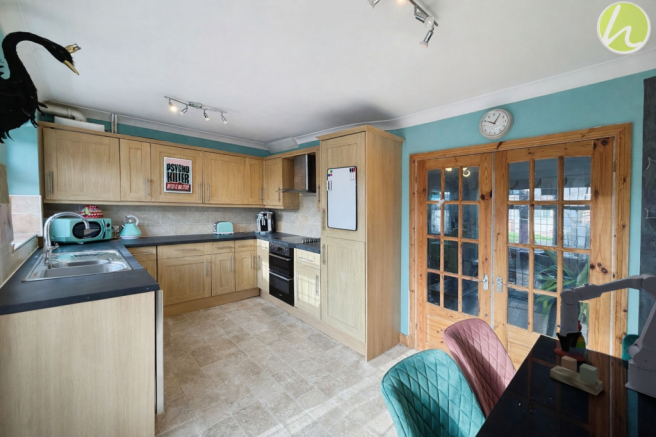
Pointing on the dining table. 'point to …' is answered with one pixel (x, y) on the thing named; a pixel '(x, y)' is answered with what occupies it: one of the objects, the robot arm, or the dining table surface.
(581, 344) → the stacking bear
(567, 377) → the birch board
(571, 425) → the dining table surface
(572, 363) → the terracotta block
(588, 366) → the sage block
